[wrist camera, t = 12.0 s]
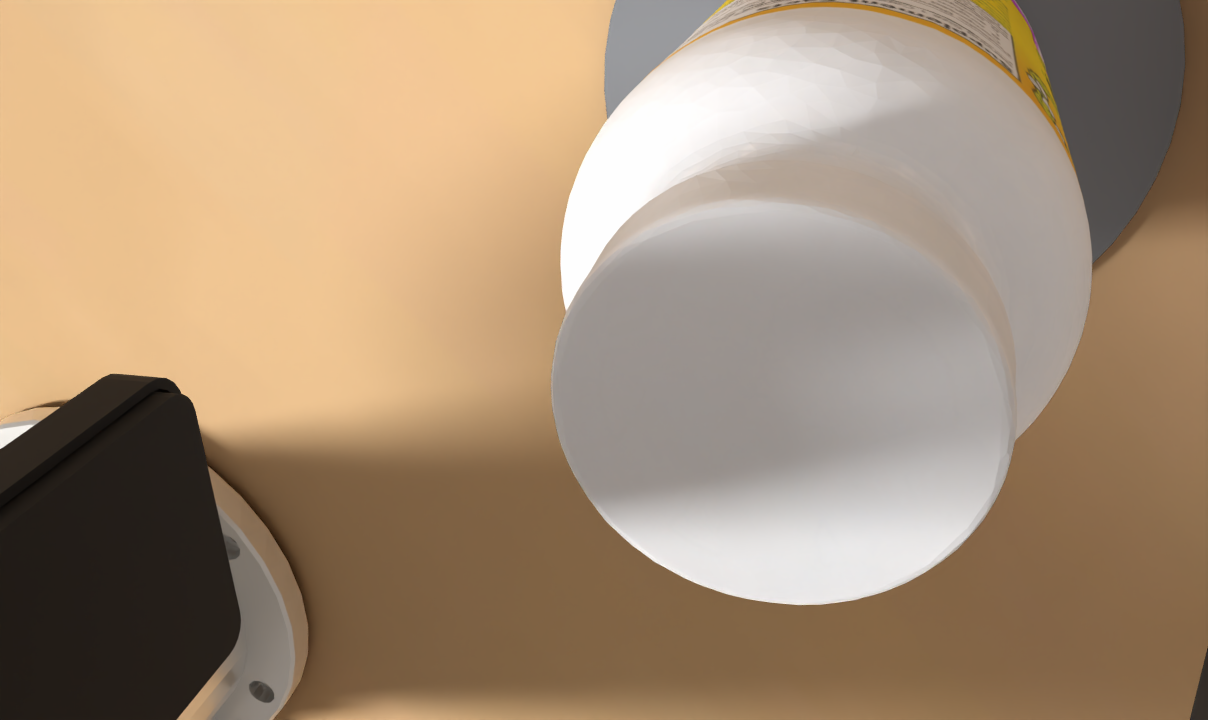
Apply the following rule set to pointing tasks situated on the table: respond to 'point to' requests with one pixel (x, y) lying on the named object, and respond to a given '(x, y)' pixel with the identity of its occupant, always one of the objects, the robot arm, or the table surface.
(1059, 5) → the mat
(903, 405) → the supplement bottle
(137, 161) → the table surface
